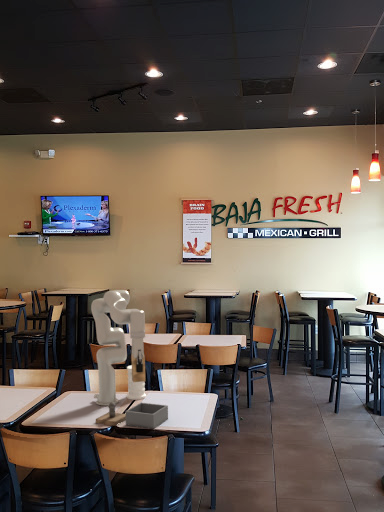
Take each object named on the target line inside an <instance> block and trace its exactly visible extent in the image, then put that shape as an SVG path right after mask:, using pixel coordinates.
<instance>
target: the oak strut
mask: <svg viewBox="0 0 384 512" xmlns="http://www.w3.org/2000/svg"><path fill="white" fill-rule="evenodd" d="M142 356H143V355H142ZM137 358H139V357H137ZM145 359H146V356H145V354H144V357H143V358H142V363H143V372H136V364H137V360H136V358H135V359H134V356H133V355H132V353H131V365H132V381H133V382H146V364H145V363H146V360H145ZM138 360H139V359H138Z"/></svg>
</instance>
